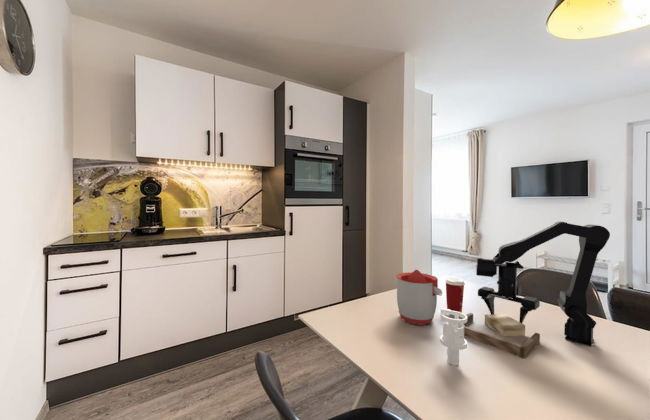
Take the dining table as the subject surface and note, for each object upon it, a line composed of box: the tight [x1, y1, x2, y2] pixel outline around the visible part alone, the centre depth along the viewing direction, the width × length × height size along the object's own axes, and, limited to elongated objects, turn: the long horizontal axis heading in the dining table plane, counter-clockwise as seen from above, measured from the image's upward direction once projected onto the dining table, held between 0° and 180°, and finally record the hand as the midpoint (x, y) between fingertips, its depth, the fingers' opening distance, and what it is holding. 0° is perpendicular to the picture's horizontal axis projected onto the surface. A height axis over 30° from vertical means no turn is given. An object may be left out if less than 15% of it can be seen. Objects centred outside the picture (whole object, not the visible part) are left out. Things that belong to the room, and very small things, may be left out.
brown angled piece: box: [459, 312, 541, 360], centre depth 95 cm, size 22×15×3 cm
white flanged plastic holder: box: [439, 307, 468, 366], centre depth 79 cm, size 7×7×15 cm
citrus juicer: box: [396, 269, 443, 326], centre depth 108 cm, size 16×17×20 cm
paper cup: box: [444, 277, 466, 313], centre depth 116 cm, size 8×8×14 cm
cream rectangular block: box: [484, 313, 526, 337], centre depth 101 cm, size 10×8×4 cm
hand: (506, 319), depth 103 cm, fingers open, 9 cm apart
